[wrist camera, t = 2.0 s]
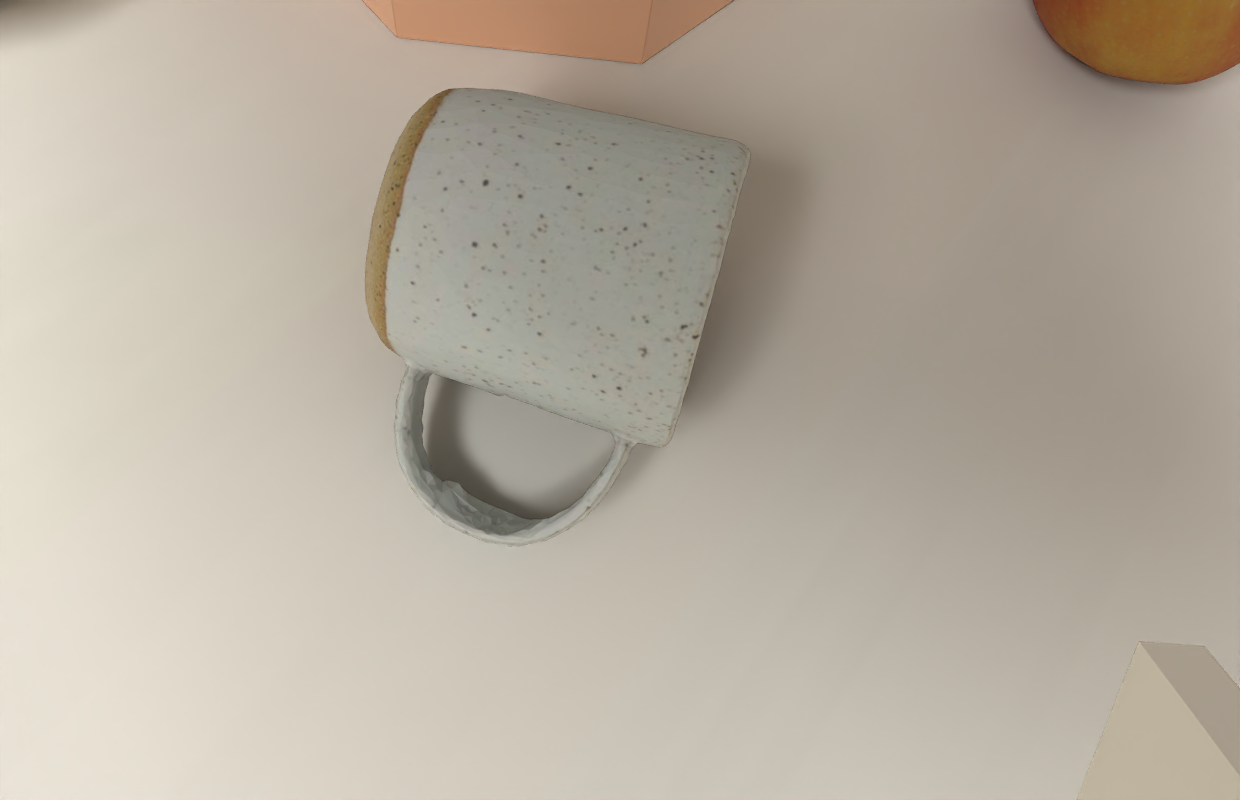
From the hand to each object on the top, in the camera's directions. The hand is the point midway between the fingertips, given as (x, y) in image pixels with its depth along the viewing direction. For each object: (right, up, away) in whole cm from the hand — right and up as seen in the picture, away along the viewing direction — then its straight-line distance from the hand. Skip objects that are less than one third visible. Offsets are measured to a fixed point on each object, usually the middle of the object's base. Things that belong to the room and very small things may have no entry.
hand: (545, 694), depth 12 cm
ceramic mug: (-1, +4, +18) cm, 18 cm away
